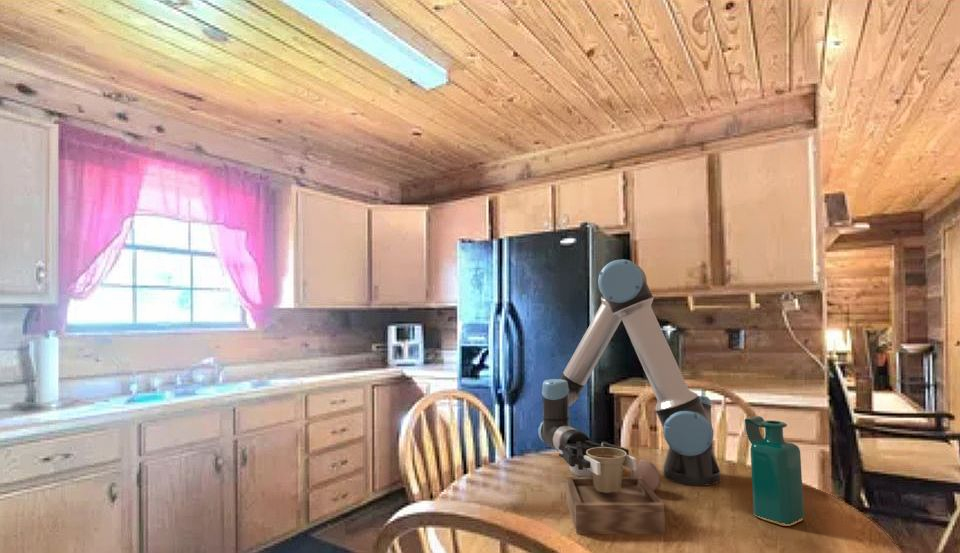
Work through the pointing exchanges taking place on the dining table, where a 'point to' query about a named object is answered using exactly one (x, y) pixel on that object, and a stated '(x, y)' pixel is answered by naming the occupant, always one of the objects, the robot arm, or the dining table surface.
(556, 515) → the dining table surface
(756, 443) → the teal bottle with handle
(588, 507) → the walnut open box
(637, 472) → the egg
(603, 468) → the flower pot
